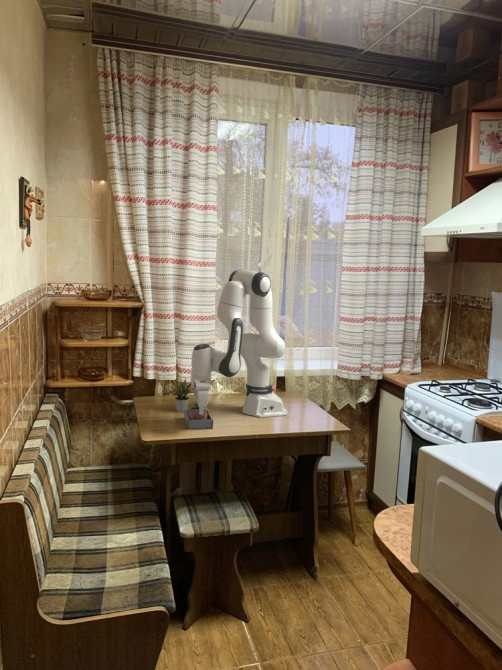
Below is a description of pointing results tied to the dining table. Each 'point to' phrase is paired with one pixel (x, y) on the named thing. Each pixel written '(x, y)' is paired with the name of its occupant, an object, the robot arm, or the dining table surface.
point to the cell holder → (198, 421)
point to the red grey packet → (197, 413)
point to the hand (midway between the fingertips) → (199, 410)
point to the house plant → (182, 396)
